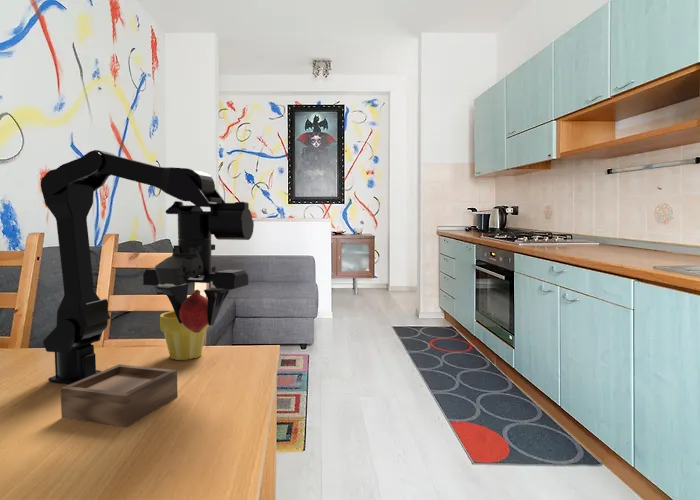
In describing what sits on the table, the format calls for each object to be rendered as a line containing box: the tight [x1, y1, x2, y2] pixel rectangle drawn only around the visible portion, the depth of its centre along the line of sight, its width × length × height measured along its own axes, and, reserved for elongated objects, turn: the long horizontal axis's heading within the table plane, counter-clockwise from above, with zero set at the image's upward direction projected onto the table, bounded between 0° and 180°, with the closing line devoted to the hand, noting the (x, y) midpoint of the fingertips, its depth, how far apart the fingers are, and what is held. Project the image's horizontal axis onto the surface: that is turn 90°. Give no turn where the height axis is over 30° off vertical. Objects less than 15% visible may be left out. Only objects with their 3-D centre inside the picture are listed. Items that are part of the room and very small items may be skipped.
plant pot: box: [159, 310, 210, 361], centre depth 102 cm, size 10×10×10 cm
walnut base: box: [60, 363, 178, 428], centre depth 74 cm, size 12×12×5 cm
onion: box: [179, 289, 208, 333], centre depth 83 cm, size 6×6×8 cm
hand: (196, 324), depth 84 cm, fingers closed on onion, 6 cm apart
